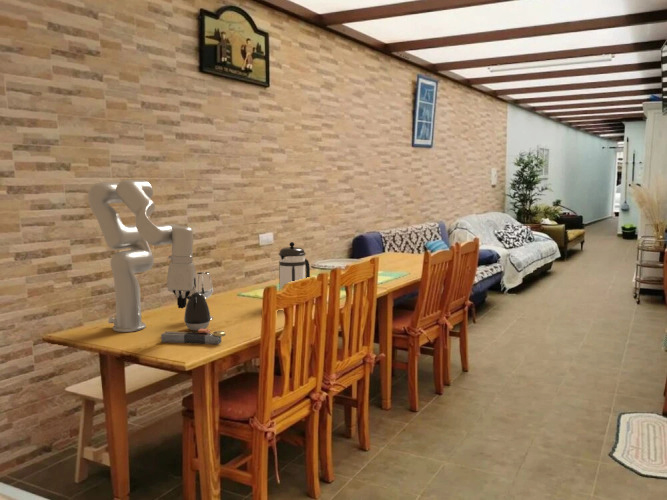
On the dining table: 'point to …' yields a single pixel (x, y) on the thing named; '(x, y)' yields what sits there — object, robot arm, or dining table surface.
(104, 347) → the dining table surface
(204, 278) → the wineglass
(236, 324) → the dining table surface
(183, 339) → the tongs moving arm
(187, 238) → the robot arm
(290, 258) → the coffee press
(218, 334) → the tongs fixed arm
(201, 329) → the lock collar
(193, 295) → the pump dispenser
